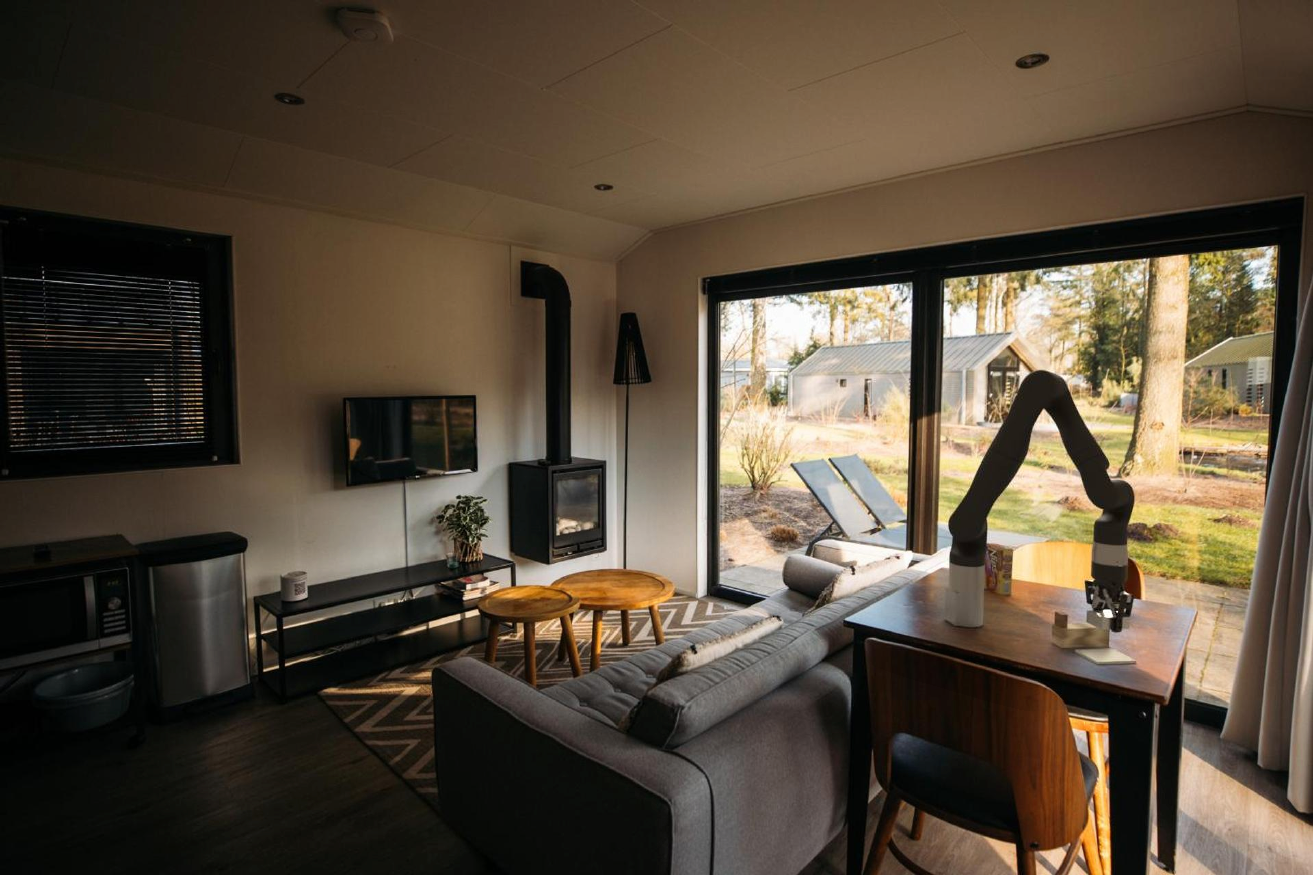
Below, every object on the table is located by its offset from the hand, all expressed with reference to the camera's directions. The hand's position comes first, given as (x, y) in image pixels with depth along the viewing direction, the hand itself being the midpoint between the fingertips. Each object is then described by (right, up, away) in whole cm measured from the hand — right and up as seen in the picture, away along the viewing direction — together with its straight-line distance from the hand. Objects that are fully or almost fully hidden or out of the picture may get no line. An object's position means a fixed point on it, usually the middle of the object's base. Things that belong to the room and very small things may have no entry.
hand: (1107, 627), depth 172 cm
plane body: (-1, -7, +9) cm, 12 cm away
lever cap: (0, +1, 0) cm, 1 cm away
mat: (0, -8, 0) cm, 8 cm away
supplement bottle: (+26, -5, +39) cm, 47 cm away
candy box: (+1, -4, +58) cm, 58 cm away
